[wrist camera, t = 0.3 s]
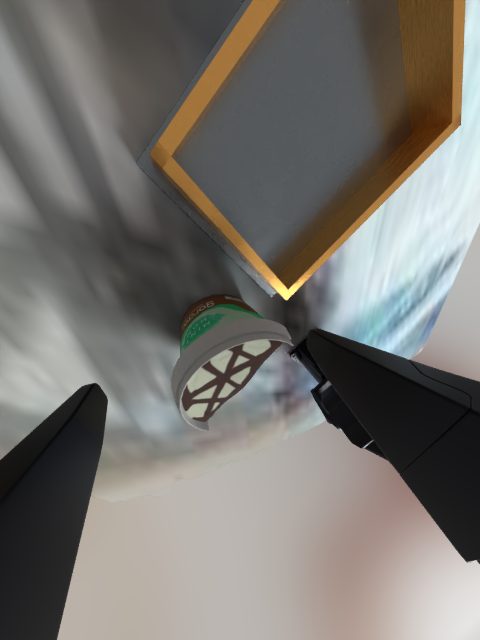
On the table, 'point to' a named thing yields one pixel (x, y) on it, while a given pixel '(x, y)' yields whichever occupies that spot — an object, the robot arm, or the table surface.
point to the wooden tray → (308, 125)
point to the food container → (220, 354)
